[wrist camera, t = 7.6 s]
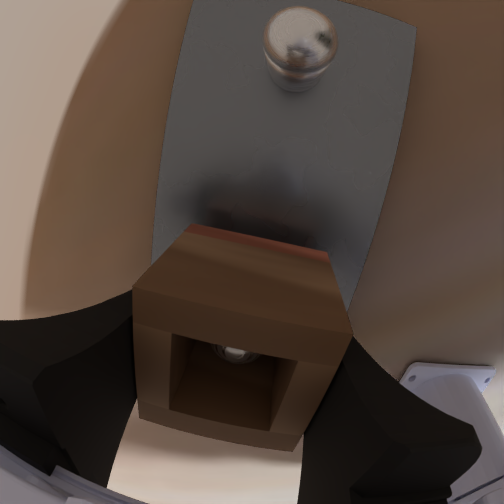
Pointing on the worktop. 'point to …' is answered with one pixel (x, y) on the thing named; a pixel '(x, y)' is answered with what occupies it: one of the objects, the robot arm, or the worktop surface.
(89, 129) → the worktop surface
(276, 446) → the sleeve
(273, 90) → the pin board
